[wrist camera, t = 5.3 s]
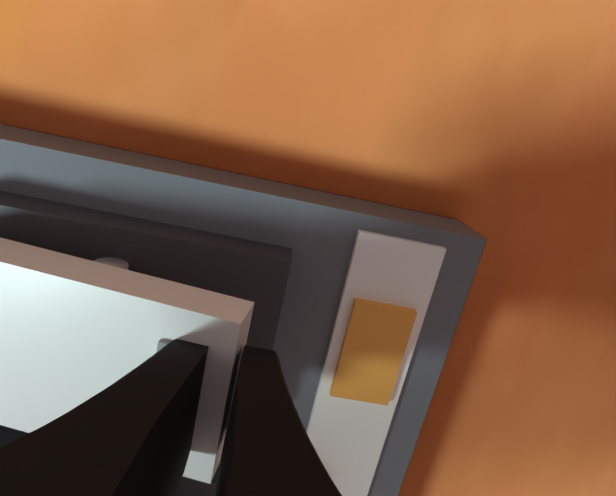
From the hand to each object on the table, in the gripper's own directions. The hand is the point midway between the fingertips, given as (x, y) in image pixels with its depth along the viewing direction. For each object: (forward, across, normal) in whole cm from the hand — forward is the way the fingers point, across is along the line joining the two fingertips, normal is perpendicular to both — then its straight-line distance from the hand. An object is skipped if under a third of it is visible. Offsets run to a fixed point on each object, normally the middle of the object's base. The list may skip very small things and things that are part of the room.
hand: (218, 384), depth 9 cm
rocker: (+1, +3, 0) cm, 3 cm away
